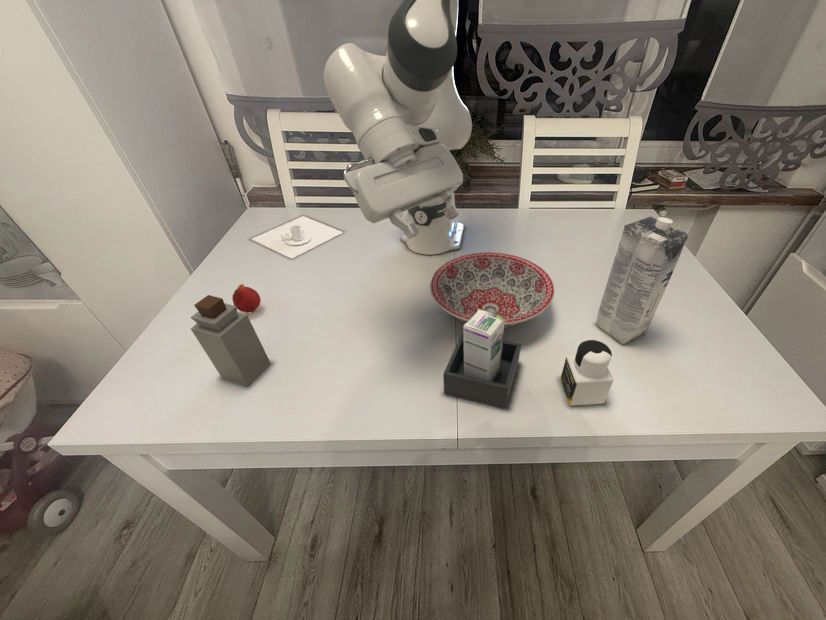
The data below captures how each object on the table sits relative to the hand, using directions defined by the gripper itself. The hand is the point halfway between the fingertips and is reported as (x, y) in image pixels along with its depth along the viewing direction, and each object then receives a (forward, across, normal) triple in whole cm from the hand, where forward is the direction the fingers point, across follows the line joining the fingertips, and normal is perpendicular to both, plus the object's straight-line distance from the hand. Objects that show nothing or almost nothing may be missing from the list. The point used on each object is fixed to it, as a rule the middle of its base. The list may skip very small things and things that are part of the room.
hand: (435, 226), depth 66 cm
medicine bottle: (+41, +11, 0) cm, 43 cm away
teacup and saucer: (-29, +5, +71) cm, 77 cm away
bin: (+30, 0, +12) cm, 32 cm away
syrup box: (+29, 0, +12) cm, 31 cm away
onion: (-10, -23, +52) cm, 57 cm away
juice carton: (+39, +34, +3) cm, 52 cm away
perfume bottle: (+3, -33, +39) cm, 51 cm away
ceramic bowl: (+20, +18, +22) cm, 35 cm away
